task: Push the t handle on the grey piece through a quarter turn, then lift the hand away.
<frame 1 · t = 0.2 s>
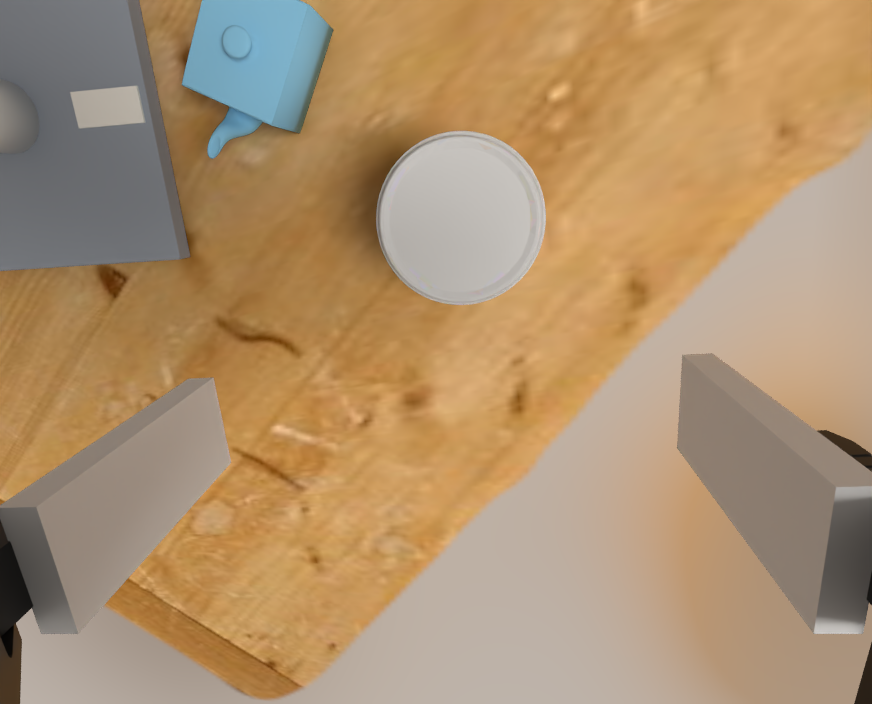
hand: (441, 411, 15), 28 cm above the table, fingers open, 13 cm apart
coffee cup: (465, 211, 41), on the table
teapot: (277, 81, 39), on the table
grey piece: (22, 119, 41), on the table
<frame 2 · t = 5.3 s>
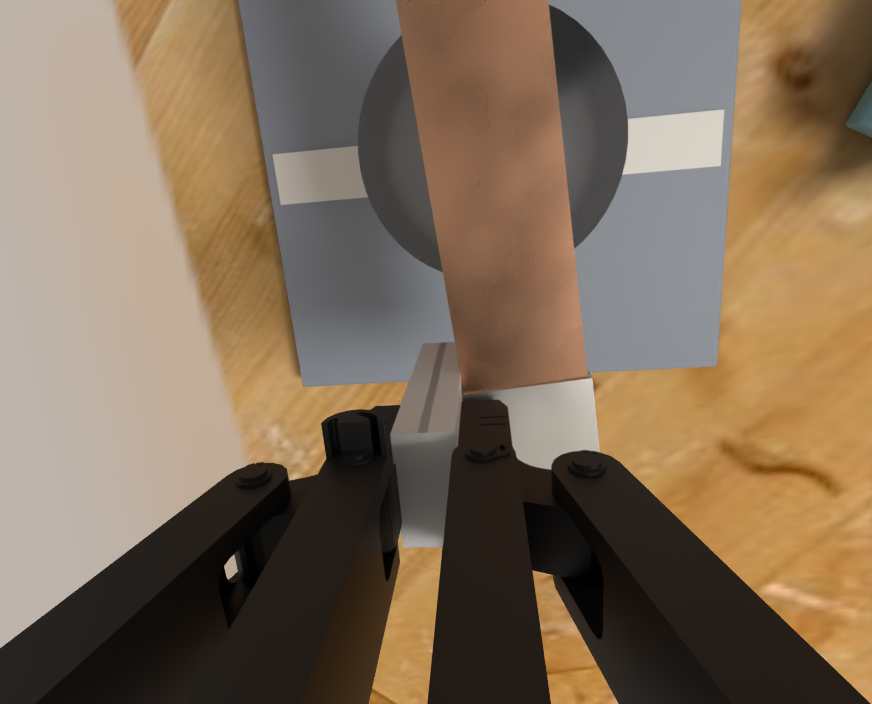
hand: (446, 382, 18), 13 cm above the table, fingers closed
t handle: (490, 148, 16), point 12 cm above the table, hinge at 5.2°, touching gripper
grey piece: (489, 161, 27), on the table
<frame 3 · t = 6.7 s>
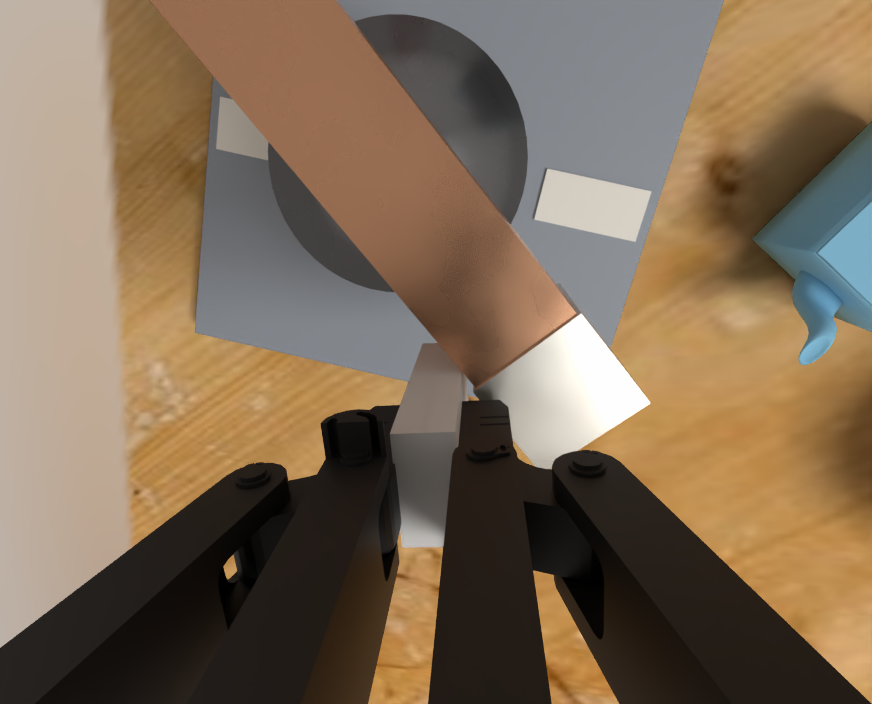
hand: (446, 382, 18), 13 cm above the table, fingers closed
t handle: (393, 164, 16), point 12 cm above the table, hinge at 51.5°, touching gripper
teapot: (824, 235, 27), on the table
grey piece: (432, 170, 28), on the table
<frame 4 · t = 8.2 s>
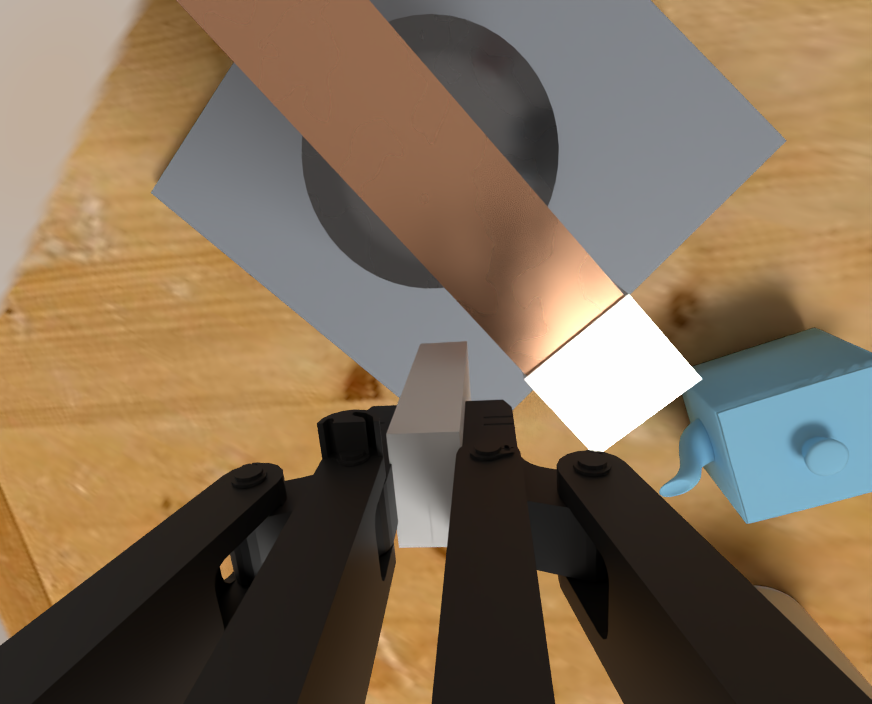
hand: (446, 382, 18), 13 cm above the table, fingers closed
t handle: (426, 161, 16), point 12 cm above the table, hinge at 84.0°
coffee cup: (744, 631, 35), on the table
teapot: (729, 397, 31), on the table
grey piece: (450, 168, 28), on the table
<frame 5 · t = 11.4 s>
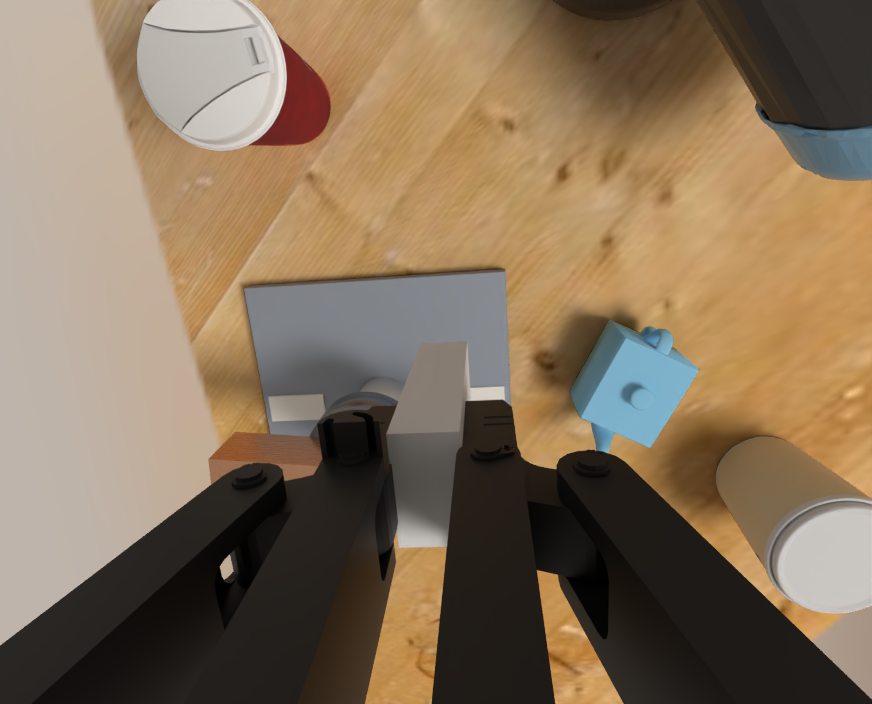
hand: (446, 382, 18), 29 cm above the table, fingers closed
t handle: (360, 463, 38), point 12 cm above the table, hinge at 84.0°
coffee cup: (758, 473, 49), on the table
teapot: (612, 375, 48), on the table
coffee cup 2: (293, 105, 43), on the table
grey piece: (388, 397, 50), on the table
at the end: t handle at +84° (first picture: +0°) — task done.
